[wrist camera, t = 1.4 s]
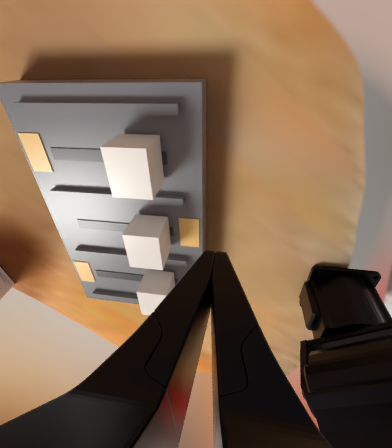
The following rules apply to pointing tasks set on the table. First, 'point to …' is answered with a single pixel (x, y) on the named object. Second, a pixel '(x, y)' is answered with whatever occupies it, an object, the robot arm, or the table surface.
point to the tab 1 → (134, 165)
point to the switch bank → (96, 173)
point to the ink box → (4, 283)
